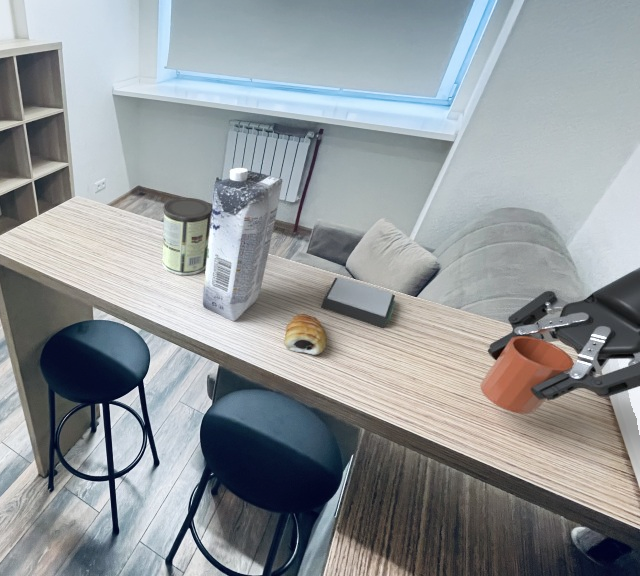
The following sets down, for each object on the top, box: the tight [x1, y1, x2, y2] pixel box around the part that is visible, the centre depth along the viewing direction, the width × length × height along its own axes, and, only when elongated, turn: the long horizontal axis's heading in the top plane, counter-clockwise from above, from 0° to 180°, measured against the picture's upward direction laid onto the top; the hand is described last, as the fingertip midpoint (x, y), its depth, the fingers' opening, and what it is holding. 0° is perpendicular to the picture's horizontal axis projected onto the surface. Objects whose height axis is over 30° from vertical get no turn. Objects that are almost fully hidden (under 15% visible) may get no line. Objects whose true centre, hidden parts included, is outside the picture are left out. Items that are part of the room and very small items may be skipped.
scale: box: [320, 276, 397, 329], centre depth 79 cm, size 11×9×3 cm
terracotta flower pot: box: [479, 336, 575, 415], centre depth 52 cm, size 6×6×8 cm
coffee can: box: [161, 197, 213, 276], centre depth 90 cm, size 10×10×14 cm
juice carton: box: [202, 167, 283, 322], centre depth 73 cm, size 9×10×27 cm
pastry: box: [283, 313, 327, 356], centre depth 72 cm, size 9×7×4 cm
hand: (512, 374), depth 52 cm, fingers closed on terracotta flower pot, 6 cm apart
